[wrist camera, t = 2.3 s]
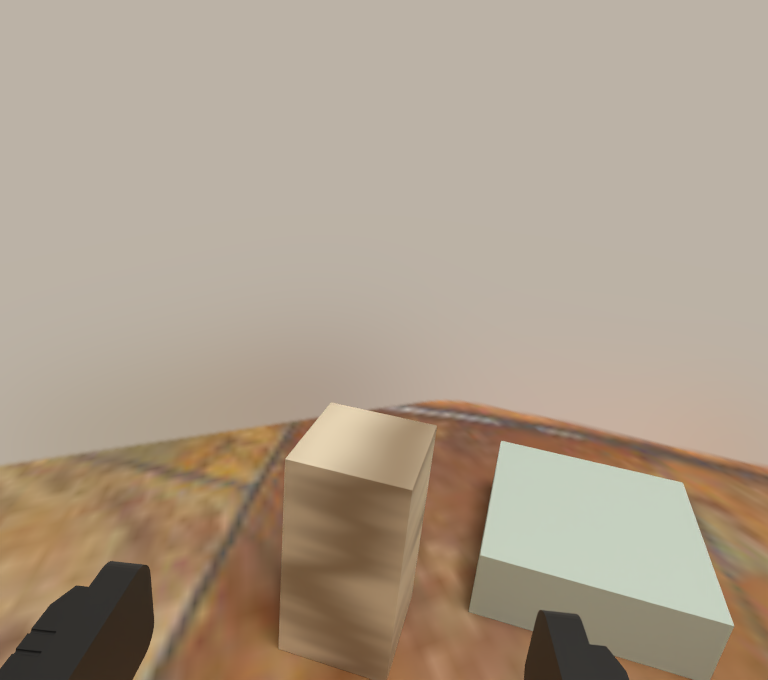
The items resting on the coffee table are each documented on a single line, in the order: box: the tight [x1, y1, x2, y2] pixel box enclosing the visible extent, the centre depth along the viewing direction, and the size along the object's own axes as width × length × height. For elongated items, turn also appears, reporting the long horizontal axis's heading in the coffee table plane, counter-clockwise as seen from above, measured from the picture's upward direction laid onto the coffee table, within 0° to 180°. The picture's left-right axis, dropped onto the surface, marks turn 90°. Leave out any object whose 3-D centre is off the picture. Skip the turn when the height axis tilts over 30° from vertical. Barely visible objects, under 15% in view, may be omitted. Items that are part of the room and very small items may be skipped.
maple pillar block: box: [278, 403, 437, 680], centre depth 25 cm, size 5×5×10 cm
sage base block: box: [469, 441, 734, 680], centre depth 31 cm, size 11×11×4 cm
